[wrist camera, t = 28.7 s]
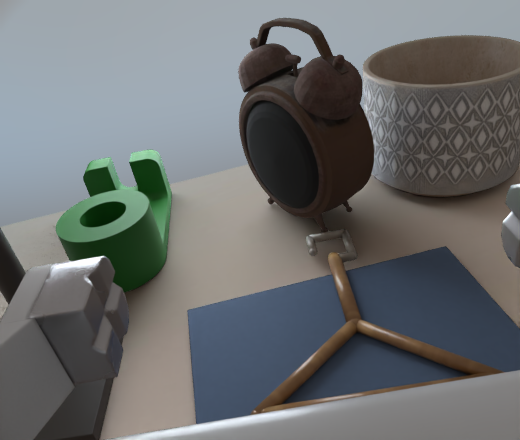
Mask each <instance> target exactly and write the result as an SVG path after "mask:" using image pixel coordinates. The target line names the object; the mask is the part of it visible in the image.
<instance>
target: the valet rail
mask: <svg viewBox="0 0 520 440" xmlns="http://www.w3.org/2000/svg"><path fill="white" fill-rule="evenodd" d="M25 274H26V273H25V271H24V269H23V267H22V265H21V264H20V262H19V260H18V258H17V257H16V255H15V253H14V251H13V250H12V248H11V246H10V244H9V242H8V241H7V239H6V237H5V235H4V234H3V232H2V230H1V228H0V291H1V293H2V294H3V296H4V298H5V299H6V301H7V302H8V304H10V302H11V300H12V298H13V296H14V294H15V292H16V291H17V289H18V287H19V285H20V283H21V281H22V279H23V277H24V276H25ZM122 339H123V337H122V338H121V339H120V340H119V341H120V344H122ZM113 378H114V377H113ZM113 378H108V379H103V380H98V381H93V382H88V383H83V384H78V385H74V386H75V388H74V389H73V390H72V392H71V393H70V394H69V395H68V397H67V398H66V399H65V401H64V402H63V403H62V404H61V406H60V407H59V408H58V409H57V411H56V412H55V413H54V414H53V416H52V417H51V418H50V419H49V421H48V422H47V423H46V424H45V426H44V427H43V428H42V429H41V431H40V432H39V433H38V434H37V436H36V437H35V438H34V439H33V440H99V438H100V433H101V429H102V425H103V421H104V416H105V412H106V408H107V404H108V399H109V395H110V391H111V386H112V382H113Z"/></svg>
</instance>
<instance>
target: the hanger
mask: <svg viewBox="0 0 520 440" xmlns="http://www.w3.org/2000/svg"><path fill="white" fill-rule="evenodd" d="M339 238H342V239H343V242H344V245H345V248H346V251H347V252H346V253H340V254H338V253H336V252H333V253H331V254H329V256H328V262H329V266H330V269H331V272H332V276H333V279H334V283H335V286H336V289H337V293H338V296H339V299H340V303H341V306H342V310H343V313H344V316H345V320H346V324H345V325H344V326H343V327H342V328H340V329H339V330H338V331H337V332H336V333H335V334H334V335H333V336H332V337H331V338H330V339H329V340H328V341H327V342H325V343H324V344H323V345H322V346H321V347H320V348H319V349H318V350H317V351H316V352H315V353H314V354H313V355H312V356H310V357H309V358H308V359H307V360H306V361H305V362H304V363H303V364H302V365H301V366H300V367H299V368H298V369H297V370H295V371H294V372H293V373H292V374H291V375H290V376H289V377H288V378H287V379H286V380H285V381H284V382H283V383H282V384H280V385H279V386H278V387H277V388H276V389H275V390H274V391H273V392H272V393H271V394H270V395H269V396H268V397H267V398H265V399H264V400H263V401H262V402H261V403H260V404H259V405H258V406H257V407H256V408H255V409H254V410H253V411H252V412H251V414H250V415H254V414H260V413H266V412H272V411H278V410H284V409H290V408H296V407H302V406H308V405H314V404H320V403H325V402H331V401H337V400H343V399H349V398H355V397H361V396H367V395H373V394H379V393H385V392H391V391H397V390H403V389H409V388H415V387H421V386H427V385H433V384H439V383H445V382H451V381H457V380H463V379H469V378H475V377H481V376H487V375H493V374H499V373H505V372H503V371H501V370H498V369H495V368H493V367H490V366H487V365H484V364H482V363H479V362H476V361H473V360H471V359H468V358H465V357H463V356H460V355H457V354H454V353H452V352H449V351H446V350H443V349H441V348H438V347H435V346H432V345H430V344H427V343H424V342H421V341H419V340H416V339H413V338H411V337H408V336H405V335H402V334H400V333H397V332H394V331H391V330H389V329H386V328H383V327H380V326H378V325H375V324H372V323H369V322H367V321H364V320H362V319H361V316H360V313H359V310H358V307H357V304H356V301H355V298H354V295H353V292H352V289H351V286H350V283H349V280H348V277H347V274H346V271H345V268H344V265H343V262H346V261H352V260H356V259H357V256H358V255H357V252H356V250H355V247H354V244H353V242H352V239H351V237H350V234H349V232H348V230H346V229H342V230H336V231H330V232H324V233H318V234H313V235H308V236H307V237H306V242H307V246H308V250H309V254H310V255H311V256H315V255H317V253H318V251H317V247H316V244H315V242H321V241H327V240H333V239H339ZM356 332H358V333H361V334H364V335H366V336H369V337H371V338H374V339H377V340H379V341H382V342H384V343H387V344H390V345H392V346H395V347H397V348H400V349H403V350H405V351H408V352H411V353H413V354H416V355H418V356H421V357H424V358H426V359H429V360H431V361H434V362H437V363H439V364H442V365H444V366H447V367H450V368H452V369H455V370H458V371H460V372H463V373H465V374H468V375H467V376H461V377H454V378H448V379H442V380H435V381H429V382H422V383H416V384H410V385H403V386H397V387H390V388H384V389H378V390H371V391H365V392H358V393H352V394H346V395H339V396H333V397H326V398H320V399H314V400H307V401H301V402H295V403H288V404H283V403H284V402H285V401H286V400H287V399H288V398H289V397H290V396H291V395H292V394H293V393H294V392H295V391H296V390H297V389H298V388H299V387H300V386H301V385H302V384H303V383H304V382H305V381H306V380H307V379H309V378H310V377H311V376H312V375H313V374H314V373H315V372H316V371H317V370H318V369H319V368H320V367H321V366H322V365H323V364H324V363H325V362H326V361H327V360H328V359H329V358H330V357H331V356H332V355H333V354H334V353H335V352H336V351H338V350H339V349H340V348H341V347H342V346H343V345H344V344H345V343H346V342H347V341H348V340H349V339H350V338H351V337H352V336H353V335H354V334H355V333H356Z"/></svg>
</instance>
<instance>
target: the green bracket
mask: <svg viewBox="0 0 520 440" xmlns="http://www.w3.org/2000/svg"><path fill="white" fill-rule="evenodd" d="M129 163H130V166H131V169H132V172H133V175H134V177H135V180H136V183H137V185H136V186H134V187H126V186H124V185H122V184H121V183H120V181H119V178H118V176H117V173H116V170H115V168H114V165H113V162H112V159H111V157H108V158H103V159H98V160H93V161H91V162H90V163H89V165H88V167H87V169H86V171H85V174H84V176H83V179H84V182H85V185H86V187H87V190H88V192H89V195H90V198H87V199H85V200H84V201H81V202H79V203H78V204H76V205H74V206H73V207H71V208H70V209H69V210H67V211H66V212H65V213H64V214H63V215H62V216H61V218H60V219H59V220H58V222H57V225H56V233H57V235H58V237H59V239H60V241H61V243H62V245H63V247H64V249H65V251H66V253H67V255H68V258H69V260H70V261H75V260H81V259H88V258H94V257H101V256H105V257H107V258H108V259H109V260H110V262H111V264H112V266H113V268H114V270H115V274H114V278H113V283H115V284H116V285H118V286H119V287H121V288H122V289H123V292H127V291H130V290H133V289H135V288H137V287H139V286H141V285H143V284H145V283H146V282H148V281H149V280H151V279H152V278H153V277H154V276H155V275H156V274H157V273H158V272H159V271H160V270H161V269H162V267H163V266H164V264H165V261H166V257H167V245H168V233H169V221H170V209H171V197H172V192H171V189H170V186H169V182H168V179H167V176H166V173H165V169H164V166H163V163H162V159H161V156H160V155H159V153H158V152H156V151H154V150H144V151H139V152H134V153H132V154H131V157H130V161H129Z"/></svg>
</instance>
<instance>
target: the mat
mask: <svg viewBox="0 0 520 440" xmlns="http://www.w3.org/2000/svg"><path fill="white" fill-rule="evenodd" d="M346 274H347V277H348V280H349V283H350V286H351V289H352V292H353V295H354V298H355V301H356V304H357V307H358V310H359V313H360V316H361V319H362V320H364V321H367V322H369V323H372V324H375V325H378V326H380V327H383V328H386V329H389V330H391V331H394V332H397V333H400V334H402V335H405V336H408V337H411V338H413V339H416V340H419V341H421V342H424V343H427V344H430V345H432V346H435V347H438V348H441V349H443V350H446V351H449V352H452V353H454V354H457V355H460V356H463V357H465V358H468V359H471V360H473V361H476V362H479V363H482V364H484V365H487V366H490V367H493V368H495V369H498V370H501V371H503V372H511V371H517V370H520V329H519V328H518V327H517V325H516V324H515V323H514V322H513V321H512V320H511V319H510V318H509V316H508V315H507V314H506V313H505V312H504V311H503V310H502V309H501V307H500V306H499V305H498V304H497V303H496V302H495V301H494V300H493V298H492V297H491V296H490V295H489V294H488V293H487V292H486V291H485V289H484V288H483V287H482V286H481V285H480V284H479V283H478V282H477V281H476V279H475V278H474V277H473V276H472V275H471V274H470V273H469V272H468V270H467V269H466V268H465V267H464V266H463V265H462V264H461V263H460V261H459V260H458V259H457V258H456V257H455V256H454V255H453V254H452V252H451V251H450V250H449V249H448V248H447V247H446V246H445V247H441V248H436V249H432V250H428V251H424V252H420V253H416V254H412V255H408V256H404V257H400V258H396V259H392V260H388V261H384V262H380V263H376V264H372V265H368V266H364V267H360V268H356V269H352V270H348V271H346ZM188 323H189V336H190V349H191V361H192V374H193V387H194V399H195V412H196V424H200V423H206V422H212V421H218V420H224V419H230V418H236V417H242V416H248V415H250V414H251V412H252V411H253V410H254V409H255V408H256V407H257V406H258V405H259V404H260V403H261V402H262V401H263V400H264V399H265V398H267V397H268V396H269V395H270V394H271V393H272V392H273V391H274V390H275V389H276V388H277V387H278V386H279V385H280V384H282V383H283V382H284V381H285V380H286V379H287V378H288V377H289V376H290V375H291V374H292V373H293V372H294V371H295V370H297V369H298V368H299V367H300V366H301V365H302V364H303V363H304V362H305V361H306V360H307V359H308V358H309V357H310V356H312V355H313V354H314V353H315V352H316V351H317V350H318V349H319V348H320V347H321V346H322V345H323V344H324V343H325V342H327V341H328V340H329V339H330V338H331V337H332V336H333V335H334V334H335V333H336V332H337V331H338V330H339V329H340V328H342V327H343V326H344V325H345V324H346V320H345V316H344V313H343V310H342V306H341V303H340V299H339V296H338V293H337V289H336V286H335V283H334V279H333V276H332V275H327V276H323V277H319V278H315V279H311V280H307V281H303V282H299V283H295V284H291V285H287V286H283V287H279V288H275V289H271V290H267V291H263V292H259V293H255V294H251V295H247V296H243V297H239V298H235V299H231V300H227V301H222V302H218V303H214V304H210V305H206V306H202V307H198V308H194V309H190V310H188ZM467 375H468V374H465V373H463V372H460V371H458V370H455V369H452V368H450V367H447V366H444V365H442V364H439V363H437V362H434V361H431V360H429V359H426V358H424V357H421V356H418V355H416V354H413V353H411V352H408V351H405V350H403V349H400V348H397V347H395V346H392V345H390V344H387V343H384V342H382V341H379V340H377V339H374V338H371V337H369V336H366V335H364V334H361V333H358V332H356V333H355V334H354V335H353V336H352V337H351V338H350V339H349V340H348V341H347V342H346V343H345V344H344V345H343V346H342V347H341V348H340V349H339V350H338V351H336V352H335V353H334V354H333V355H332V356H331V357H330V358H329V359H328V360H327V361H326V362H325V363H324V364H323V365H322V366H321V367H320V368H319V369H318V370H317V371H316V372H315V373H314V374H313V375H312V376H311V377H310V378H309V379H307V380H306V381H305V382H304V383H303V384H302V385H301V386H300V387H299V388H298V389H297V390H296V391H295V392H294V393H293V394H292V395H291V396H290V397H289V398H288V399H287V400H286V401H285V402H284V403H283V404H288V403H295V402H301V401H307V400H314V399H320V398H326V397H333V396H339V395H346V394H352V393H358V392H365V391H371V390H378V389H384V388H390V387H397V386H403V385H410V384H416V383H422V382H429V381H435V380H442V379H448V378H454V377H461V376H467Z"/></svg>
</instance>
